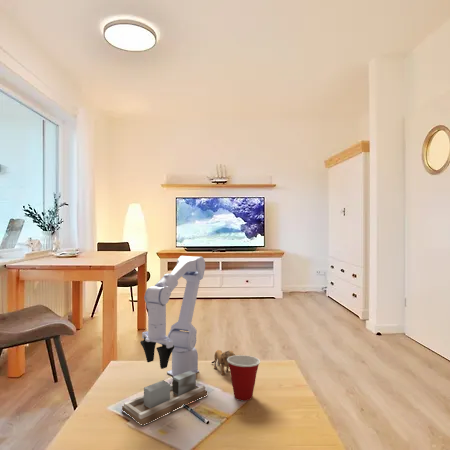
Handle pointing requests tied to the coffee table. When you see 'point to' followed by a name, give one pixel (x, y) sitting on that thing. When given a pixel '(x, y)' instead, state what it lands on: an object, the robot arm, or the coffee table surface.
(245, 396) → the plastic cup
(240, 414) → the coffee table surface
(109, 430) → the coffee table surface
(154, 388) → the gripped grey block
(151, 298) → the robot arm
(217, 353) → the lion figurine
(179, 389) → the raised edge track
